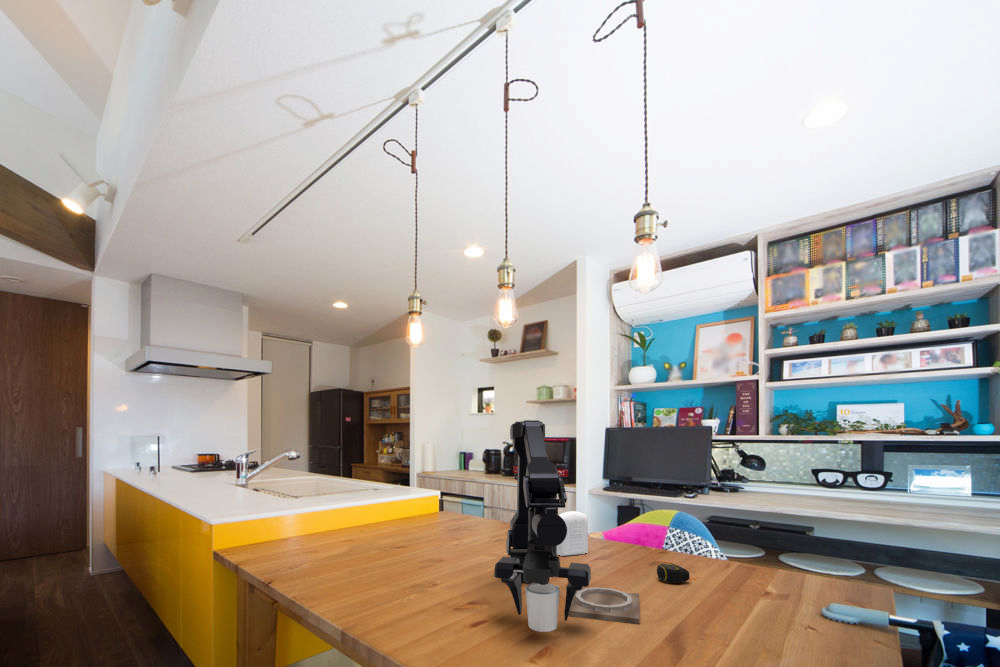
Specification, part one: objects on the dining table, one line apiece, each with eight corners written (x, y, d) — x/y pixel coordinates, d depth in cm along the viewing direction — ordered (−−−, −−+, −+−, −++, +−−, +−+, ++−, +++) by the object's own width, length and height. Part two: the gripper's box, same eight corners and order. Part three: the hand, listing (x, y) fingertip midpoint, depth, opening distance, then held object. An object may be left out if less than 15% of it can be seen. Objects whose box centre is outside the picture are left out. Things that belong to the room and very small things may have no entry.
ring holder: (564, 615, 102) (564, 605, 103) (573, 591, 116) (573, 582, 117) (639, 624, 98) (639, 613, 99) (639, 598, 112) (639, 589, 113)
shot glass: (523, 619, 100) (523, 582, 101) (556, 618, 101) (556, 581, 102) (527, 633, 93) (527, 594, 94) (563, 632, 94) (563, 593, 95)
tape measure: (691, 584, 123) (690, 568, 124) (668, 587, 121) (667, 570, 122) (674, 576, 129) (673, 561, 130) (651, 578, 127) (651, 563, 128)
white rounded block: (582, 550, 153) (581, 509, 156) (590, 554, 150) (589, 511, 152) (553, 553, 149) (553, 511, 151) (561, 557, 145) (560, 513, 148)
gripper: (487, 539, 95) (485, 627, 92) (584, 547, 90) (586, 640, 87) (502, 527, 105) (501, 606, 103) (590, 534, 100) (591, 617, 98)
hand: (542, 617), depth 97 cm, fingers open, 9 cm apart
